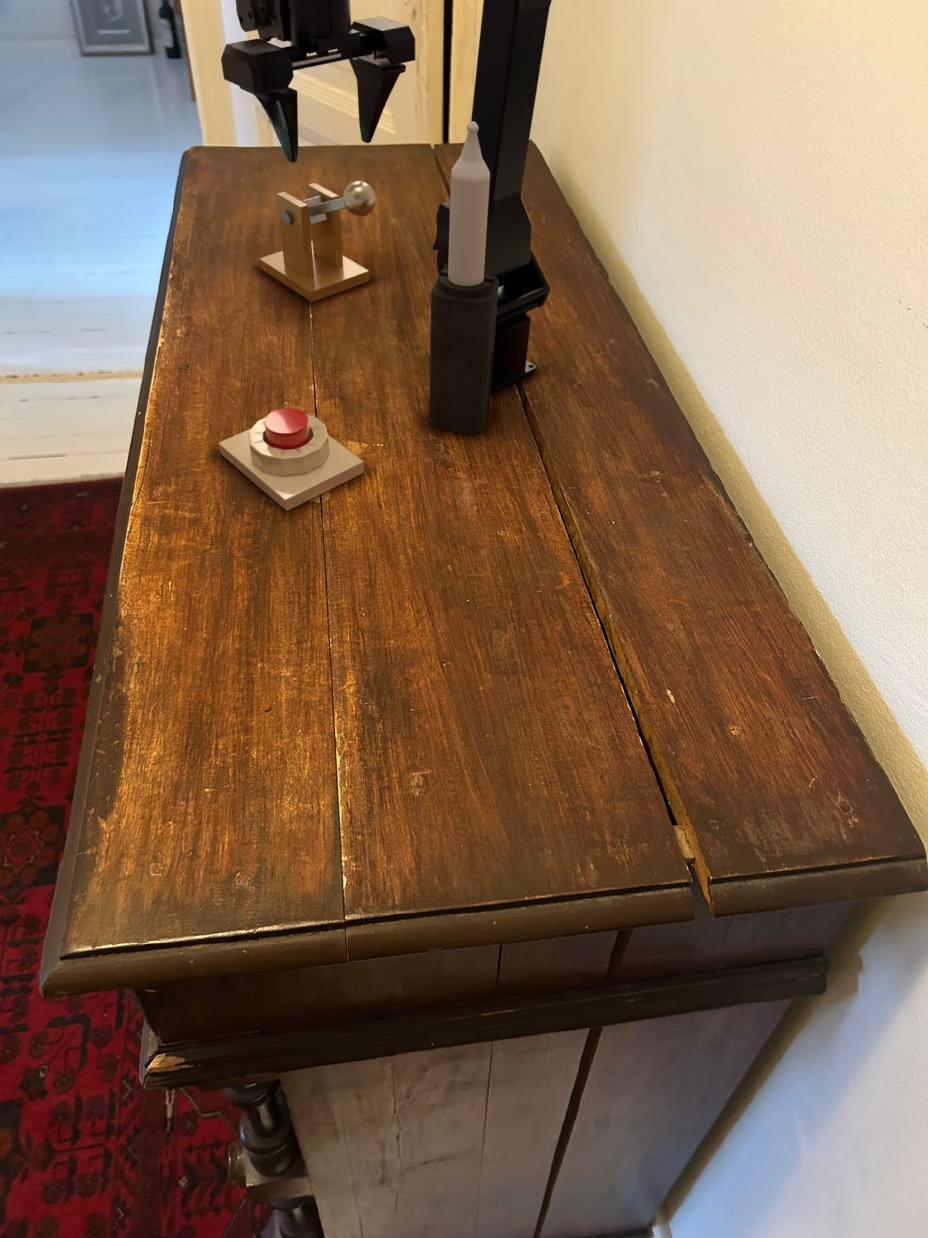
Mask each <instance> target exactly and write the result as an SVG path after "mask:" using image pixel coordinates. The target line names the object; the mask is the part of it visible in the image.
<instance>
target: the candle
mask: <svg viewBox="0 0 928 1238" xmlns="http://www.w3.org/2000/svg"><path fill="white" fill-rule="evenodd" d="M466 131H467V134H466V137H465V141H464V144H463V148H462V150H461V154H460V157H459V158H458V160H457V161H456V162H455V163H454V165H453V167H452V168H451V172H450V194H449V195H450V196H449V201H450V227H449V261H448V267H447V268H445V269H443V270H441V271H440V274H439V273H438V275H437V278H436V280H435V282H434V284H433V285H432V288H431V292H430V338H429V339H430V343H429V344H430V345H429V347H430V353H429V413H428V414H429V415H428V423H429V425H430V426H431V427H432V428H433V429H435V430H439V431H445V432H452V433H456V434H457V433H458V434H465V435H478V434H479V433H482V432H483V431H484V429H485V420H486V417H487V414H489V413H490V407H491V395H492V394H491V393H492V392H491V381H492V367H493V354H494V341H495V327H496V314H497V300H498V287H499V281H498V279H497V278H496V277H495V276H493V275H492V274H491V273H490V272H489V271H487V270H486V269H484V264H485V247H486V231H487V214H488V198H489V182H490V172H489V170H488V168H487V166H486V164H485V162H484V160H483V159H482V155H481V150H480V146H479V141H478V137H477V131H478V125H477V124H476V123H475V122H471V121H469V122H468V123H467V125H466Z"/></svg>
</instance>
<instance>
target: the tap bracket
mask: <svg viewBox="0 0 928 1238" xmlns="http://www.w3.org/2000/svg"><path fill="white" fill-rule="evenodd" d="M275 194H276V203H277V204H276V205H277V212H278V221H279V228H280V229H279V231H280V239H281V248H282V250H280V251H277V252H274V253H272V254H268V255H265V256H261V257H258V263H259V269H260V270H261V271H263V272H265V273H266V274H268V275H269V276H270V277H273V278H274V279H276V280H277V281H279V282H280V283H281V284H283V285H284V286H286V287H287V288H289V289H291V290H292V291H294V292H296V293H297V294H299V296H301V297H303V298H304V299H306V300H308V301H309V302H311V303H313V302H316V301H320V300H322V299H325V298H328V297H330V296H333V295H337V294H338V293H341V292H344V291H346V290H350V289H352V288H355V287H357V286H360V285H363V284H366V283H368V282H370V280H371V279H370V277H371V276H370V270H368V269H367V268H365V267H363V266H362V265H360V264H358V263H357V262H355V261H353V260H352V259H350V258H349V257H347V256H345V255H343V241H342V240H343V239H342V224H341V210H337V211H333V212H329V213H326V216H327V220H325V221H322V222H318V223H315V224H312V225H310V221H309V210H308V205H307V204H305V203H304V202H302V201H303V200H300V199H298V198H297V197H295V196H293V195H291V194H290V193H288V192H286V191H280V192H277V193H275ZM307 195H308V199H310V198H314V197H317V196H320V197H321V200H322V203H324V202H328V201H331V200H335V199H339V198H340V196H339V194H336V193H334V192H333V191H331V190H329V189H327V188H326V187H323V186H322V185H320V184H318V183H316V182H314V183H308V184H307Z"/></svg>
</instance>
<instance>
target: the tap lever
mask: <svg viewBox="0 0 928 1238" xmlns="http://www.w3.org/2000/svg"><path fill="white" fill-rule="evenodd" d="M376 197H377V196H376V193H375V191H374V189H373V188H372V186H370V184H369V183H367V182H365V181H363V180H356V181H352V182H351V183H349V184H348V185H347V186H346V187H345V189H344V190H343V196H342V197H339V199H335V200H331V201H328V202H324V203H322V200H321V197H320V196H317V197H314V198H310V199H309V198H307V199H303V200H301V201H302V202H304V203H305V204H307V205H308V210H309V221H310V226H311V225H312V224H315V223H318V222H322V221H325V220H327V216H326V213H329V212H333V211H337V210H340V211H341V210H346V211H347V212H348V213H350V215H352V216H354V217H357V218H363V217H366V216H368V215H369V214H371V213H372V212H373V210H374V209H375V207H376V200H377V199H376Z"/></svg>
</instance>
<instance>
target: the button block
mask: <svg viewBox="0 0 928 1238" xmlns="http://www.w3.org/2000/svg"><path fill="white" fill-rule="evenodd" d="M306 415H307V417H308V421H309V430H310V440H309V442H308V443H307V444H306V445H304V446H302V447H300V448H298V449H289V450H282V449H278V448H273V447H271V446H270V445H269V444H268V442H267V437H266V431H265V424H264V421H265V418H266V417H264V418H261V419H259V420H257V421H256V422H255V424H254V425H253V426H252V427H251V428H249V429H246V430H245V431H242V432H239V433H238V434H235V435H233V436H231V437H228V438H226V439H224V440H222V441H219V442H217V443H218V449H219V453H220V455H221V456H222V457H223V458H224V459H226V460H227V461H228V462H229V463H231V464H232V466H234V467H235V468H236V469H237V470H239V472H241V473H242V474H243V475H244V476H245V477H247V478H248V479H249V480H250V481H251V482H253V483H254V484H255V485H256V486H257V487H258V488H259V489H260V490H262V491H263V492H264V493H265V494H266V495H267V496H268V497H269V498H271V499H272V500H274V502H275V503H277V504H278V505H279V506H280V507H281V508H282V509H284V511H286V512H288V511H290V510H292V509H294V508H296V507H299V506H300V505H302V504H304V503H306V502H307V501H308V502H309V501H310V500H312V499H315V498H316V497H318V496H320V495H322V494H324V493H326V492H329V491H331V490H332V489H334V488H337V487H338V486H341V485H342V484H344V483H347V482H348V481H350V480H352V479H354V478H357V477H358V476H360V475H362V474H364V473H365V463H364V460H363V459H361V458H360V457H358V456H356V454H354V453H353V452H352V451H350V450H349V449H348V448H346V447H345V446H344V445H343V444H341V443H340V442H338V440H336V439H335V438H333V437H332V436H331V435H329V434H328V429H327V425H326V423H323V421H321V420H320V419H318V418H317V417H316V416H314V415H312V414H311V415H310V414H306Z"/></svg>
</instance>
